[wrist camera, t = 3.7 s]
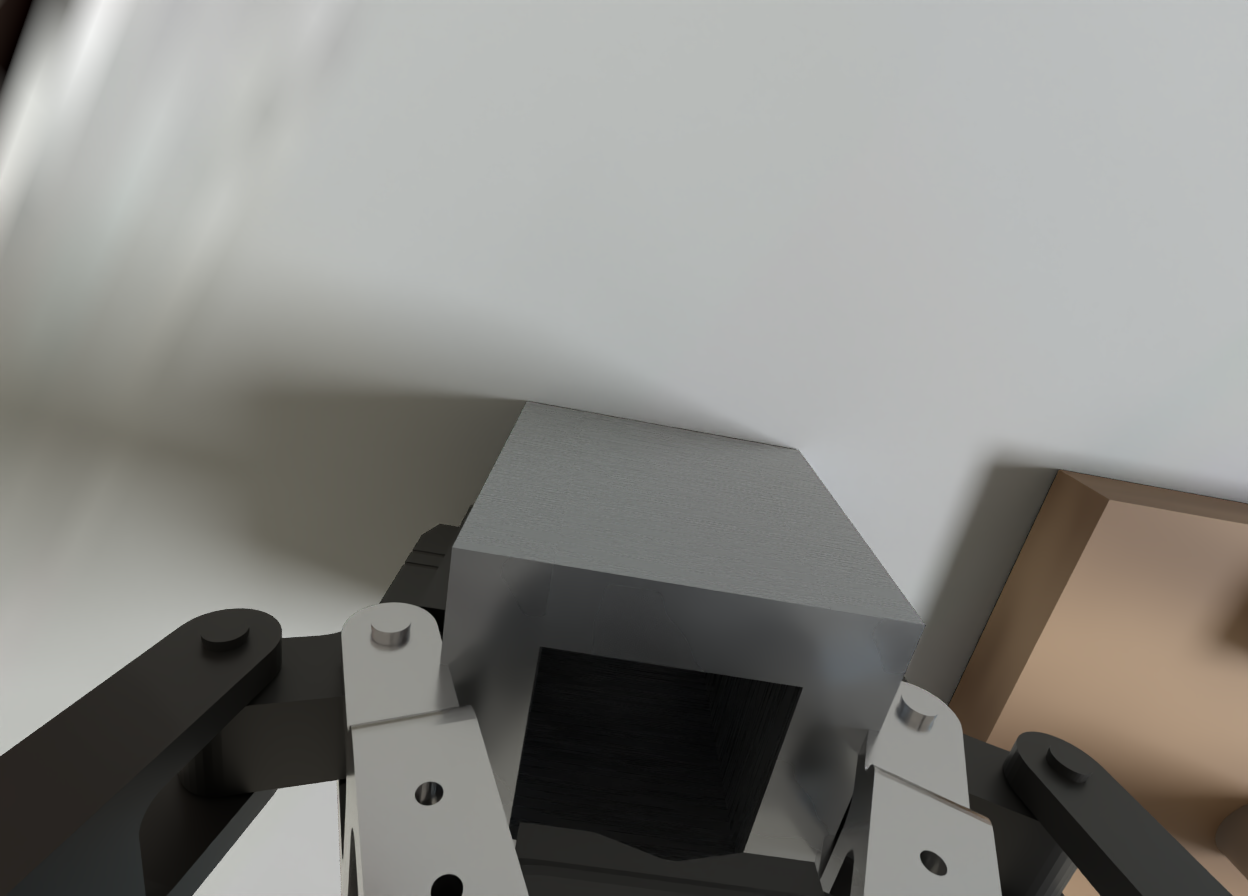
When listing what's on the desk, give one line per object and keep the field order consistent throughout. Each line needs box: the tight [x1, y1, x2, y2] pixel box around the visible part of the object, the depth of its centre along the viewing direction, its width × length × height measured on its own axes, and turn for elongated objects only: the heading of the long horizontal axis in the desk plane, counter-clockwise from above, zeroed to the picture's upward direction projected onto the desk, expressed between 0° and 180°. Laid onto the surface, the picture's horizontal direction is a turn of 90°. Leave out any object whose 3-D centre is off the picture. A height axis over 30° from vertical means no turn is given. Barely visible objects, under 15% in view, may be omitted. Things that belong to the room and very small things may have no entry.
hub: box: [440, 401, 925, 862], centre depth 11 cm, size 6×6×6 cm
